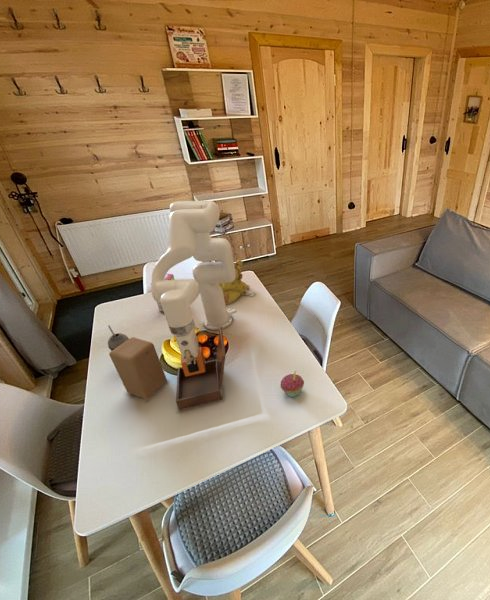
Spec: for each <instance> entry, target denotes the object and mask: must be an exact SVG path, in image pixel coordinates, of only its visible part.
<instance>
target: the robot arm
mask: <svg viewBox="0 0 490 600" xmlns="http://www.w3.org/2000/svg"><path fill="white" fill-rule="evenodd" d="M169 211H170V214H169V217H168V239H167V240H168V242H167V250H166V252H165V253H164V254H163V255H161V256H160V258H159V259H158V260H157V262H156V263H155V264H154V266H153V269H152V272H151V282H150V286H151V287H150V288H151V289H150V290H151V295H152V298H153V300H154V301H155V302H156V303H157V302H159V303H161V305H162V308H163V311H164V312H163V313H164V316H165V320H166V322H167V325H168V329H169V331H170V334H171V335H172V336H175V339H176V343H177V346H178V350H179V353H180V356H181V355H182V358H183V359H186V363H187V367H188V370H189V373H192V372H196V371H199V367H198V364H197V362H196V361H195V357H197V356H198V347H199V340H198V336H197V334H196V331H195V328H196V324H195V321H194V317H193V314H192V310H191V305H192V304H193V303H194V302H195V301H196V300H197V299H198V297H199V296H200V298H201V299H200V300H201V302H202V306H203V310H204V314H205V319H204V321H203V325H204V327H205V328H206V329H207V330H210V331H220V327H222V329H225V328H227V327H228V326H230V325H231V324H232V321H233V317H232V315H234V314H236V313H237V312H238V310H237V309H236V308H233V309H232V308H228V309H227V304H225V300H224V296H223V291H222V288H221V287H220V285H219V284H218V283H230V282H233V281H234V280H235V277H236V272H235V266H234V263H235V260H234V255H233V250H232V245H231V243H230V241H229V240H228V239H227V238H225V237H224V238H223V237H211V234H210V233H212V232H213V231H214V230H215V228H216V226H217V224H218V223H219V220H220V216H221V214H220V213H221V212H220V208H219V205H218V204H217V203H216V202H215V201H213V200H181V201H179V200H177V201H174V202H171V204H170V205H169ZM192 257H193V259H194V260H195V261H197V262H199V263H197V264H195V265H193V268H192V277H193V278H183V279H181V278H180V279H175V280H164V279H165V275H166V274H168V272H169V271H170V270H171V269H172V268H173V267H175V266H177V265H178V264H180V263H182V262H184V261H186V260H189V259H191V258H192ZM190 354H191V355H190ZM191 358H193V361H191Z"/></svg>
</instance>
